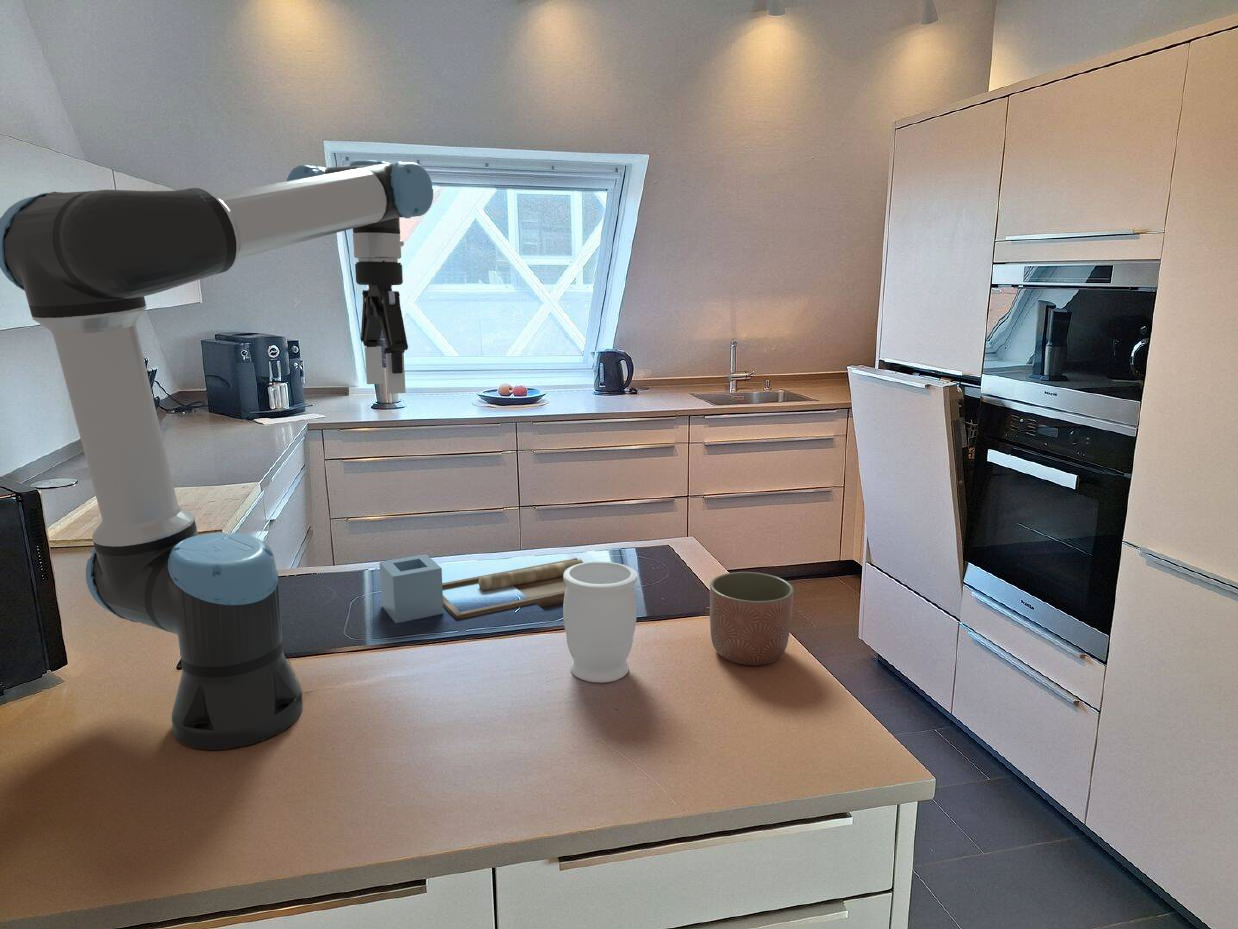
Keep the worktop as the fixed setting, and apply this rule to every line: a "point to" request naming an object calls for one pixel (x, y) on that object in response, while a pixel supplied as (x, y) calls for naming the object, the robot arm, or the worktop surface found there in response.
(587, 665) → the jar
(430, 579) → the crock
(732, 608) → the planter
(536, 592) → the tray
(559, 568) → the dowel
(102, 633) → the worktop surface
